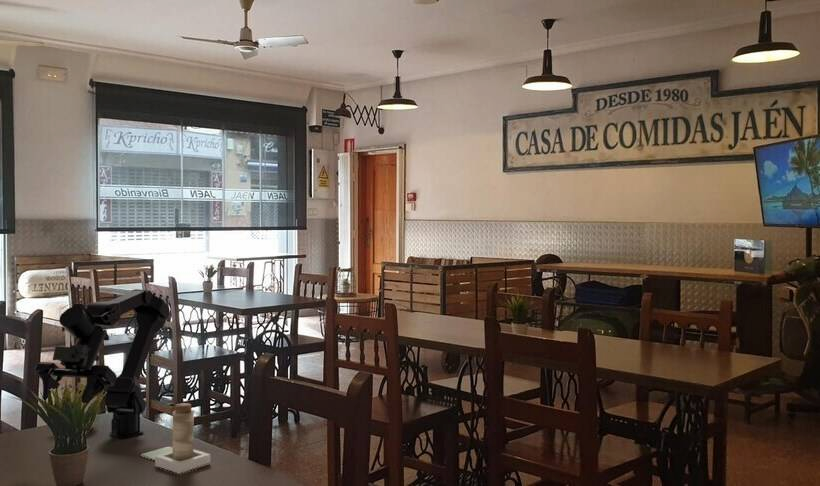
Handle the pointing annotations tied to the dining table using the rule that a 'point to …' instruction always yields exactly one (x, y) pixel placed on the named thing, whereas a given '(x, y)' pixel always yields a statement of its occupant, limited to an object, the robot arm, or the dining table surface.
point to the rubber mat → (156, 452)
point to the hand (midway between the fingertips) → (61, 406)
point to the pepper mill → (183, 432)
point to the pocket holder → (180, 466)
